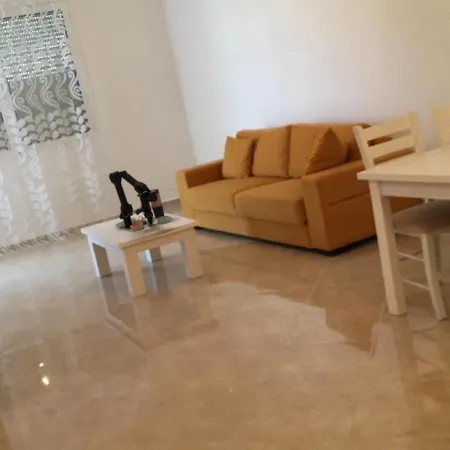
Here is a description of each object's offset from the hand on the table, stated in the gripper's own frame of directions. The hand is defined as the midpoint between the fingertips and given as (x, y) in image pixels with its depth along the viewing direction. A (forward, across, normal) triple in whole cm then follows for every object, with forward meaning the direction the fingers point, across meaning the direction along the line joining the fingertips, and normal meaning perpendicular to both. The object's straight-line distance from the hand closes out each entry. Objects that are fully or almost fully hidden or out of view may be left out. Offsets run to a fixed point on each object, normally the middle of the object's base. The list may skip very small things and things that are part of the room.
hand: (150, 223), depth 482 cm
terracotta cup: (+1, 0, -9) cm, 9 cm away
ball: (-1, 0, 0) cm, 1 cm away
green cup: (+1, 0, +10) cm, 10 cm away
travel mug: (+1, -19, +8) cm, 21 cm away
